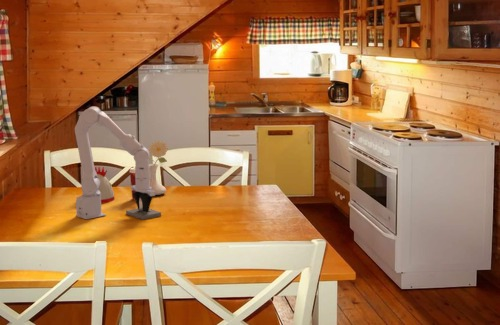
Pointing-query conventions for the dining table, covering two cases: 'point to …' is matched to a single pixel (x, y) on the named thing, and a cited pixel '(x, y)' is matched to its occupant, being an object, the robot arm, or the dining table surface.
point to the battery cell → (141, 207)
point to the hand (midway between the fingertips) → (143, 210)
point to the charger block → (143, 214)
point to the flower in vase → (157, 151)
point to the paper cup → (132, 179)
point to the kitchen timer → (105, 187)
